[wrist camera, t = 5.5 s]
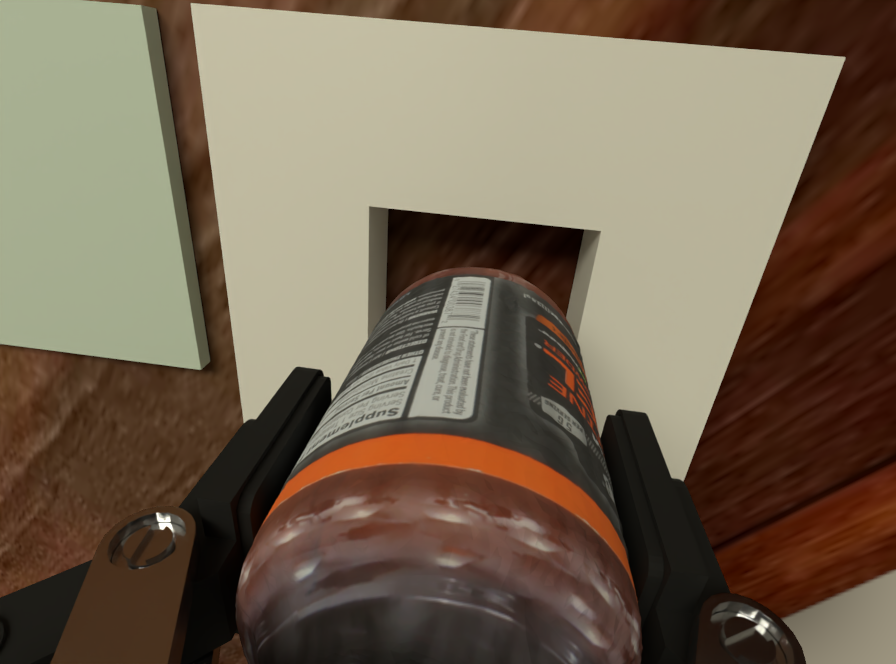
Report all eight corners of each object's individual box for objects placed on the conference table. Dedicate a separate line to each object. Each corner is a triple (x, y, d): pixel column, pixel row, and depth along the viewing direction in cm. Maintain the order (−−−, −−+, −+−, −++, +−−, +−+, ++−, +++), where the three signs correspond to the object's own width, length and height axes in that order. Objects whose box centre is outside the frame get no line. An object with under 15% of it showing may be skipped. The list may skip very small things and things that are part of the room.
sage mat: (-215, -23, 18) (-245, -27, 17) (156, 8, 17) (140, 5, 17) (-67, 325, 24) (-84, 332, 24) (210, 361, 24) (200, 369, 23)
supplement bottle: (609, 399, 15) (795, 1056, 5) (434, 457, 17) (314, 1022, 7) (528, 220, 13) (570, 738, 3) (338, 308, 15) (-43, 814, 5)
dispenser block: (240, 15, 17) (169, -3, 14) (789, 61, 16) (870, 55, 12) (278, 437, 25) (240, 496, 22) (644, 488, 24) (667, 558, 20)
